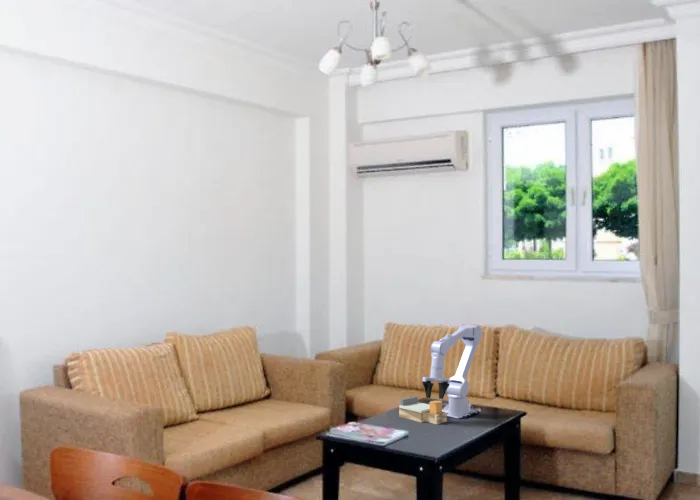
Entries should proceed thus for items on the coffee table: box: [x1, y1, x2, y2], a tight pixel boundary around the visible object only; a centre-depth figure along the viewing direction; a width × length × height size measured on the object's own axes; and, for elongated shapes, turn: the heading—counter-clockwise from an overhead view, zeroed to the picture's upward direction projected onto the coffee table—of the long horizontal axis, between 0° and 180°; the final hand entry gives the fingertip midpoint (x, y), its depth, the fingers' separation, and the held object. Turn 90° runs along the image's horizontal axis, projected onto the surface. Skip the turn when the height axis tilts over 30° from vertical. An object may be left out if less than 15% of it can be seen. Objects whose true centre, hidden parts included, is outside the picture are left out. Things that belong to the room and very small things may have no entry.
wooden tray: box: [398, 408, 448, 425], centre depth 337 cm, size 12×21×4 cm, turn 41°
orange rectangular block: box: [429, 400, 443, 415], centre depth 332 cm, size 4×4×7 cm
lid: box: [398, 395, 430, 413], centre depth 340 cm, size 12×14×4 cm
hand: (434, 398), depth 331 cm, fingers open, 7 cm apart
